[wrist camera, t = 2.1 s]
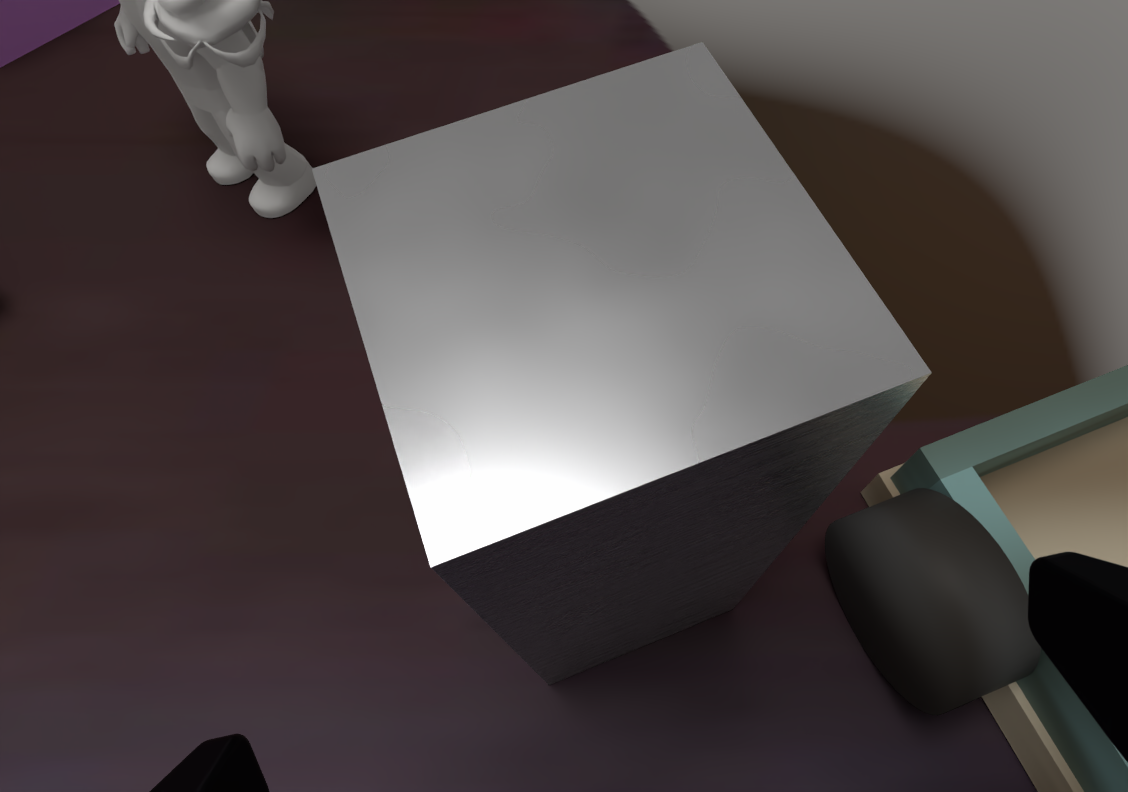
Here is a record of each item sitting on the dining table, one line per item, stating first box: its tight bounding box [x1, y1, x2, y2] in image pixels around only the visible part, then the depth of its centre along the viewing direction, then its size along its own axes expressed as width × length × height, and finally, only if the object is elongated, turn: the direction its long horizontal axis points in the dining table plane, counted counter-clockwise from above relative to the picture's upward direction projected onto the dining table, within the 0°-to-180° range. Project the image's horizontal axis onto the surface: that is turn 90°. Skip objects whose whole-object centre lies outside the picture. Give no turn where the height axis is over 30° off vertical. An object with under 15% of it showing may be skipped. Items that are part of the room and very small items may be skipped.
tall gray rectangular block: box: [312, 42, 931, 685], centre depth 14 cm, size 5×5×13 cm
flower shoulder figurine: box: [114, 0, 316, 218], centre depth 21 cm, size 9×4×12 cm, turn 46°
